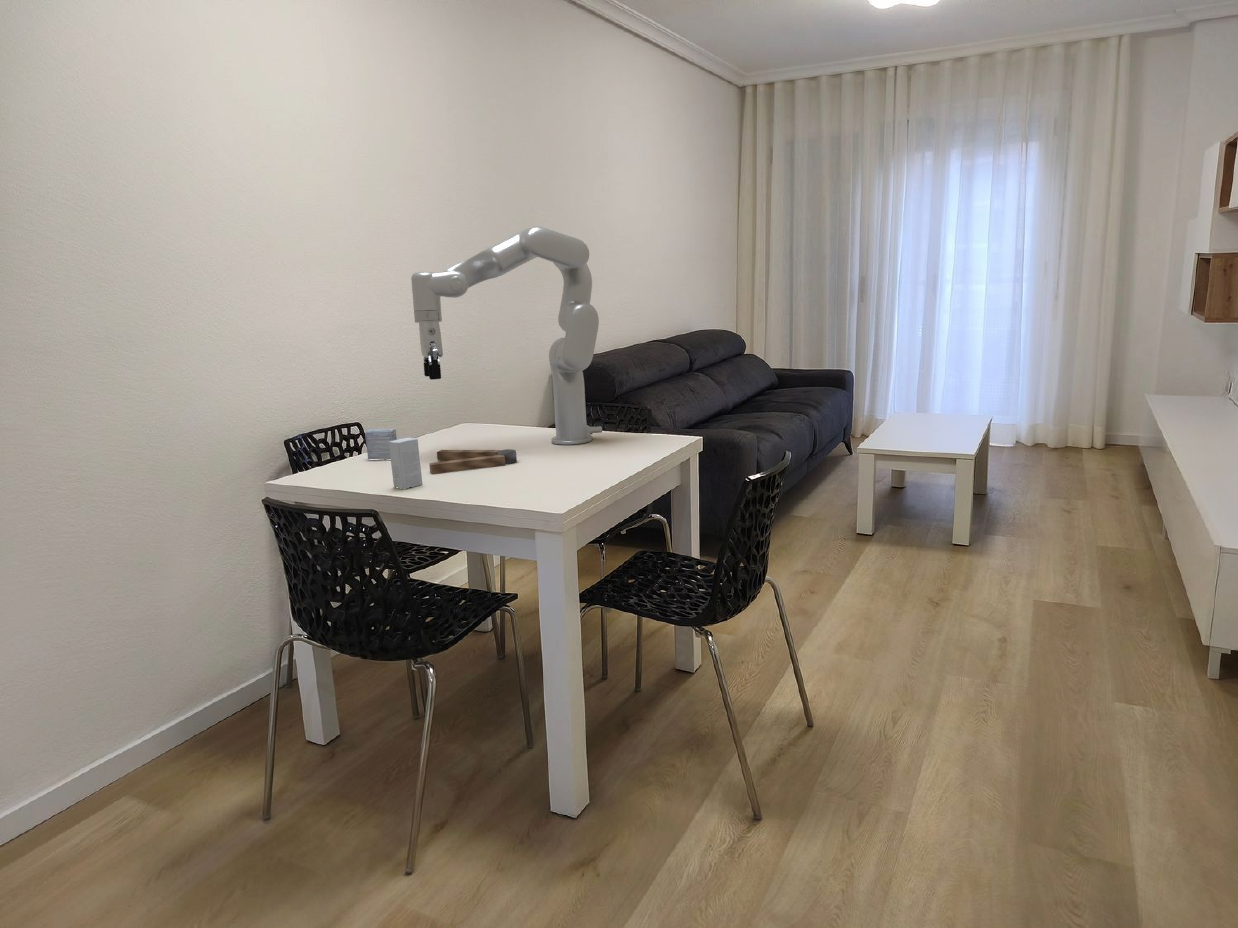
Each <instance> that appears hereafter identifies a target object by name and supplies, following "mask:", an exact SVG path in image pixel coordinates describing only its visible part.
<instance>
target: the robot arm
mask: <svg viewBox="0 0 1238 928" xmlns="http://www.w3.org/2000/svg"><path fill="white" fill-rule="evenodd" d="M535 258H540V259H543V260H545V261H549V262H552V264H553V265H554V266H555V267H557V269H558V270H559V271H560V274H561V275H562V280H563V287H562V295H561V300H560V301H561V302H560V306H559V311H558V316H557V317H558V318H557V322H558V325H559V327H560V328H561V330H562V331H563V332H565V334H564V335H565V336H564V337H560V338H558V339H556V340H554V342H552V345H550V349H549V350H548V359H549V366H550V372H551V377H552V378H551V379H552V391H553V408H554V423H555V436H553V437H551V438H550V439H551V440H550V442H551V443H552V444H555V445H561V446H562V445H564V446H565V445H567V446H568V445H581V444H585V443H589V442H591V441H593V436H592V435H593V434H600V433H602V432H603V428H602V426H601V425H600V426H590V425H588V424H587V409H586V393H585V392H586V390H585V379H584V378H585V377H584V372H583V371H584V370H586V369H587V368H589V366H590V365H591V363H592V361H593V358H594V353H595V349H596V342H597V337H598V331H599V324H600V323H599V322H600V318H599V314H598V311H597V309H596V308H595V307H594V306H593V305H592V304H591V299H592V298H591V297H592V291H593V278H592V277H593V276H592V273H591V269H590V267H589V265H588V262H589V259H590V249H589V248H588V245H587V244H586V243H585V242H584V241H583V240H581V239H579V238H576V237H574V236H571V235H568V234H564V233H562V232H558V231H555V230H553V229H549V228H547V227H543V226H532V227H527V228H524V229H523V230H520V231H518V232H517V233H515V234H512V235H511V236H509V237H507V238H505V239H503V240H501V241H498V242H497V243H494V244H493V245H491V246H490V247H487V248H486V249H484V250H481V251H479V252H478V253H477V254H474V255H473V256H471V257H468V259H465V260H463V261H461V262H459V263H457V264H455V265H453V266H451V267H449V268H448V269H445V270H443V271H442V272H435V271H421V272H419V271H418V272H414V273H413V274H412V275H411V293H412V305H413V315H414V316H413V319H414V323H415V324H418V326H419V327H418V330H419V331H418V332H419V340H420V341H419V342H420V343H419V344H420V351H421V356H423V374H424V376H425V377H428V378H429V380H441V379H442V370H441V369H442V368H441V364H440V358H442V357H443V356H444V352H443V343H442V334H441V327H440V326H441V325H440V323H441V322H443V319H442V306H441V305H442V304H441V297H443V298H445V297H446V298H460V297H462V296H464V295H465V294H466V293H467V292H468V289H469V288H472V287H474V286H475V285H477V284H479V283H483V282H484V281H488V280H491V279H496V278H499V277H501V276H504V275H506V274H507V273H509V272H511V271H513V270H515V269H517V268H518V267H520V266H522V265H524V264H526V263H527V262H530V261H532V260H533V259H535Z"/></svg>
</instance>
